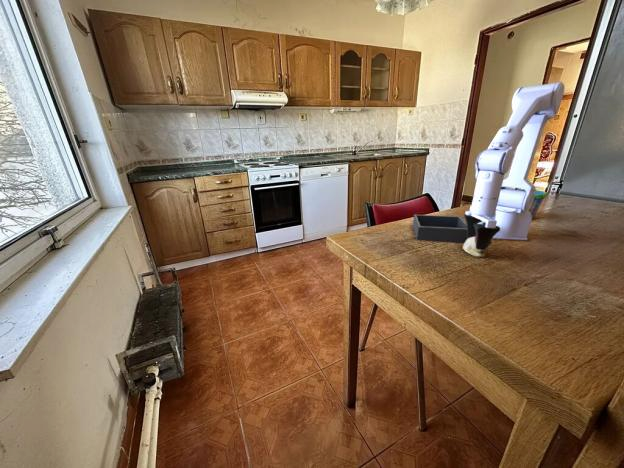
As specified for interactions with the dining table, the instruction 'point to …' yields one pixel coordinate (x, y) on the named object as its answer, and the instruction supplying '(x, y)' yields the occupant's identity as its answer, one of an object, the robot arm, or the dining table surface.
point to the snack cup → (536, 201)
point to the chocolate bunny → (474, 246)
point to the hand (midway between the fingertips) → (475, 243)
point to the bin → (440, 228)
